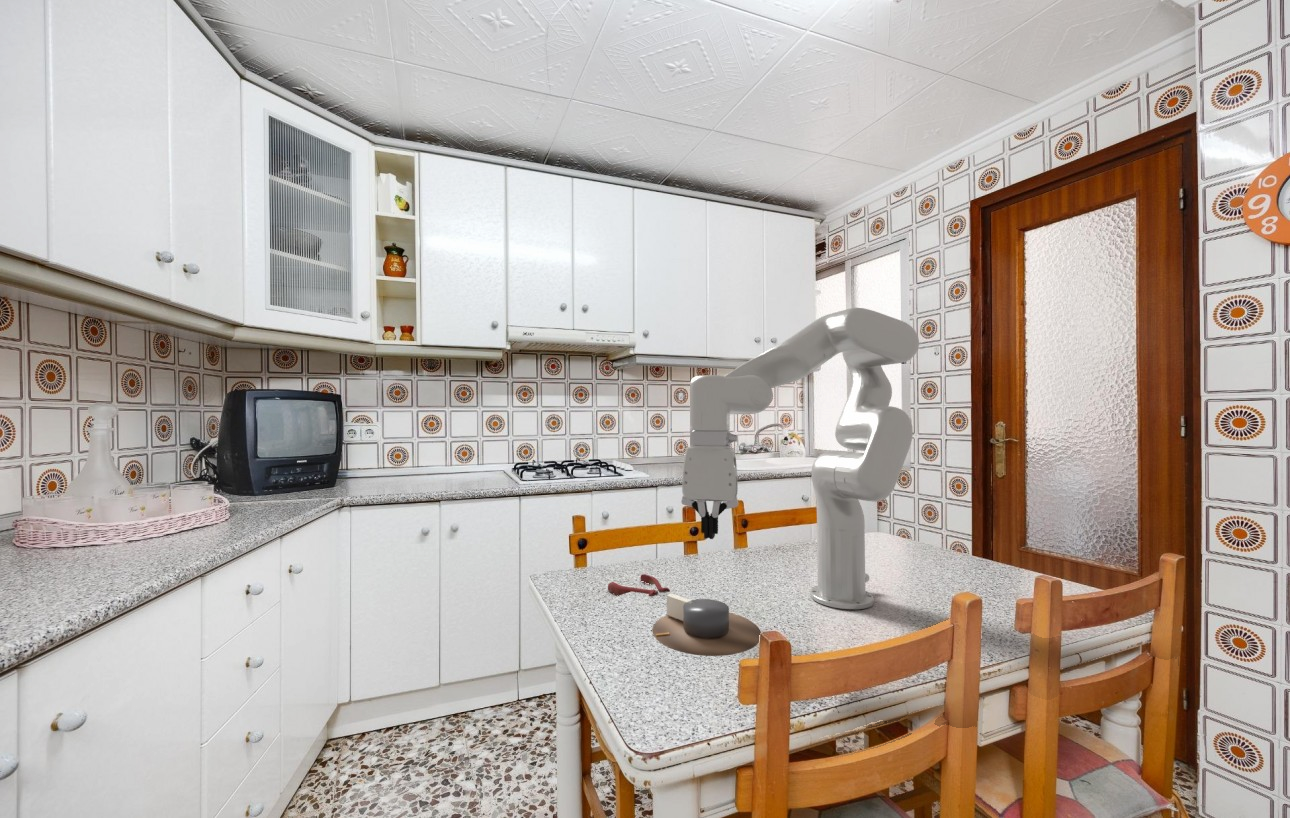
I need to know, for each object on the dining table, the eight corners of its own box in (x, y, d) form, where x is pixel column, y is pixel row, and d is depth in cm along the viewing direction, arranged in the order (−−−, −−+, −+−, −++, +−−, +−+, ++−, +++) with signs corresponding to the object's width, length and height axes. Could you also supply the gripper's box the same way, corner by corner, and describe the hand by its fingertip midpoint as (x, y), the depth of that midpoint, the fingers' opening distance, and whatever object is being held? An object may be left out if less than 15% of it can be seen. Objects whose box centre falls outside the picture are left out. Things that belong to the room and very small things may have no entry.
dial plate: (699, 609, 101) (699, 601, 101) (782, 639, 87) (782, 629, 87) (630, 638, 88) (630, 628, 88) (715, 678, 74) (714, 666, 74)
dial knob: (738, 627, 88) (738, 607, 88) (709, 642, 82) (709, 620, 82) (683, 608, 97) (683, 589, 97) (654, 619, 92) (654, 599, 92)
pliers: (662, 620, 97) (662, 607, 97) (605, 593, 113) (605, 581, 113) (704, 607, 104) (704, 594, 104) (645, 582, 120) (644, 571, 120)
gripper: (751, 440, 96) (751, 535, 96) (675, 439, 100) (675, 530, 100) (747, 441, 89) (748, 545, 89) (666, 440, 93) (666, 539, 93)
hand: (709, 537), depth 94 cm, fingers closed
